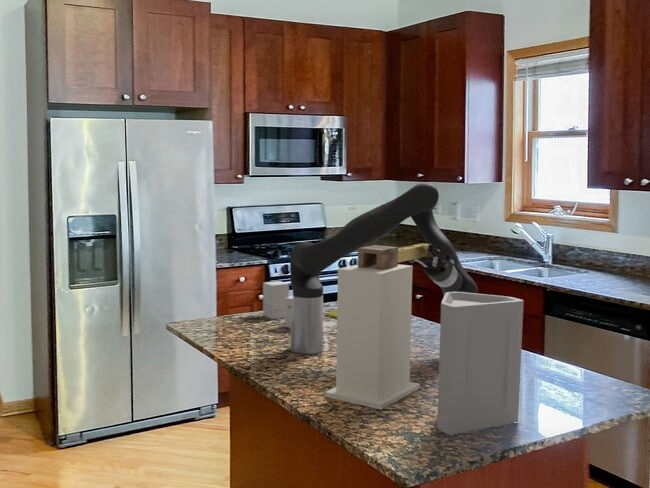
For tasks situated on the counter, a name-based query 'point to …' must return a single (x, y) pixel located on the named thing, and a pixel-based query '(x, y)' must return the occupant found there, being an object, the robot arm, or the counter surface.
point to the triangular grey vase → (479, 361)
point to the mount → (374, 330)
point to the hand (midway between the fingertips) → (418, 246)
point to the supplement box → (274, 299)
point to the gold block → (412, 252)
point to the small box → (288, 311)
